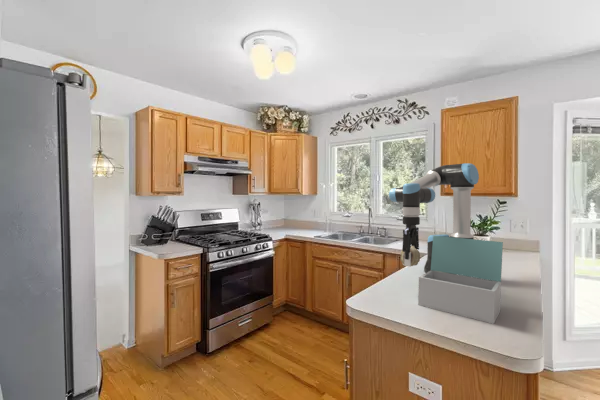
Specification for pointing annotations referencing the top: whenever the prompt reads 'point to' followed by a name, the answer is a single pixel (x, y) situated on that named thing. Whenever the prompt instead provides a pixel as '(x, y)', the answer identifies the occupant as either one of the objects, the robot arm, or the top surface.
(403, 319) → the top surface
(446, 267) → the cover
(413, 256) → the garlic bulb
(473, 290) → the gray storage box
